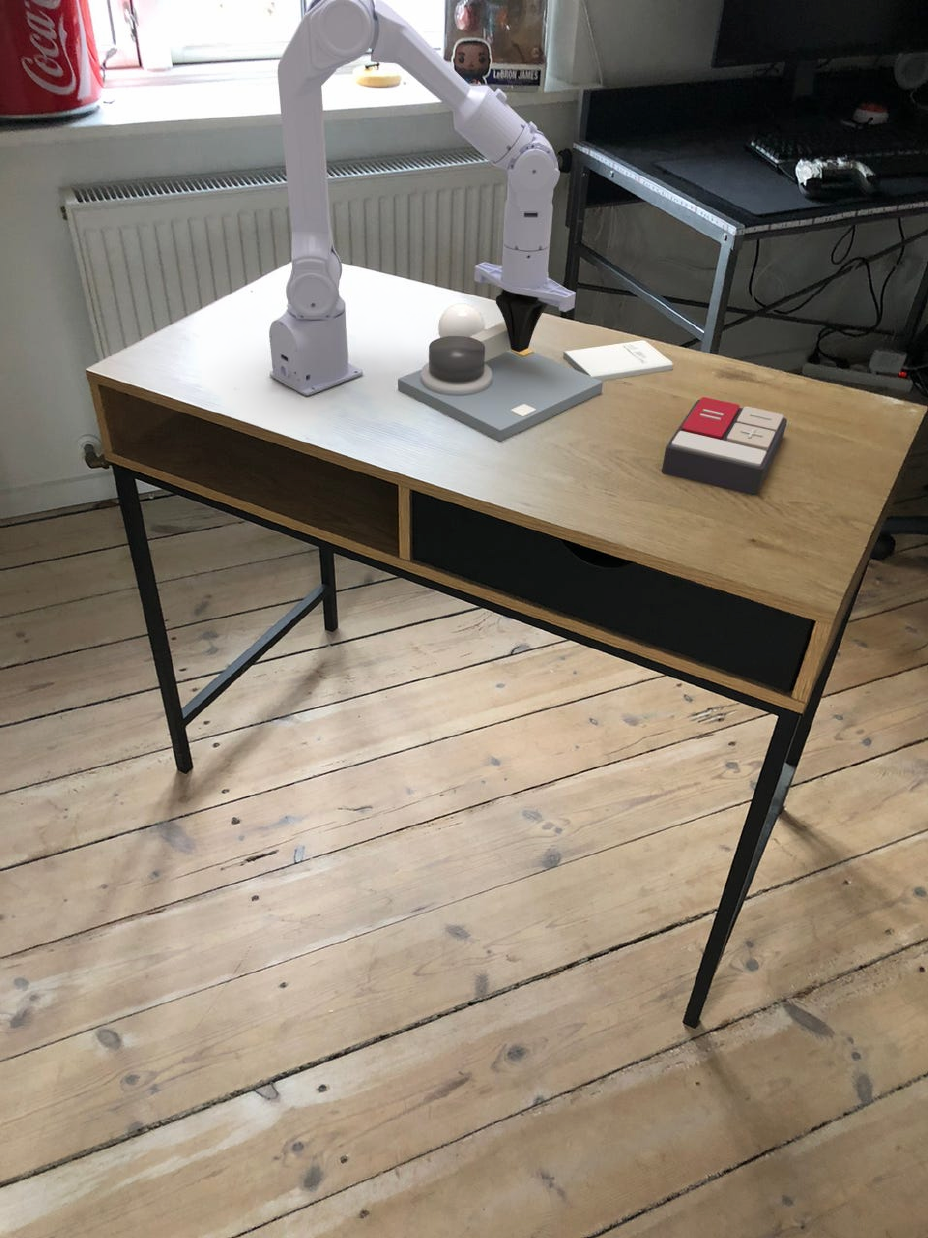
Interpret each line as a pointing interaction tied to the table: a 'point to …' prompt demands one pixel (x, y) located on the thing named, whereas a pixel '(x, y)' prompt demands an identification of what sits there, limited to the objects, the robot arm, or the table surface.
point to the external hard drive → (618, 360)
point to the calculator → (725, 445)
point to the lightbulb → (461, 321)
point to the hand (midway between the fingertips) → (519, 348)
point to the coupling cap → (466, 354)
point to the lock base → (505, 393)
